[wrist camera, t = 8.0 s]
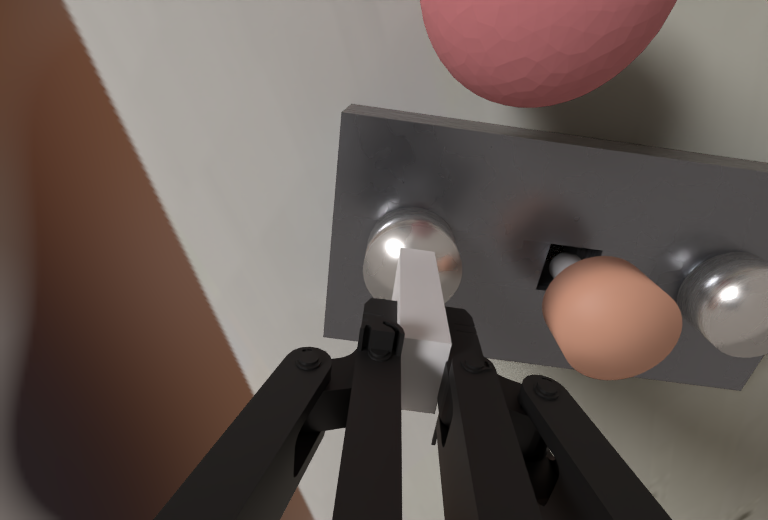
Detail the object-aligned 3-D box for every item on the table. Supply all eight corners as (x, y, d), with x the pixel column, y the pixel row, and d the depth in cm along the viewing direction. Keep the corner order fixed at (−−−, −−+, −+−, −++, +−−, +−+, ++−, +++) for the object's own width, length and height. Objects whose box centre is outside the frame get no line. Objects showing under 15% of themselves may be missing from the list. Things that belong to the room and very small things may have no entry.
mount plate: (351, 103, 22) (341, 112, 18) (797, 167, 22) (874, 187, 18) (333, 300, 27) (323, 336, 23) (695, 347, 27) (740, 390, 24)
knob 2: (535, 220, 20) (584, 277, 15) (622, 232, 20) (703, 293, 15) (511, 297, 22) (547, 372, 17) (591, 307, 22) (653, 386, 17)
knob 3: (659, 221, 23) (738, 269, 18) (736, 231, 23) (838, 282, 18) (629, 289, 25) (692, 351, 20) (700, 298, 25) (782, 362, 20)
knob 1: (376, 182, 23) (368, 219, 17) (455, 192, 23) (472, 233, 17) (367, 253, 25) (358, 307, 19) (440, 263, 25) (451, 319, 19)
